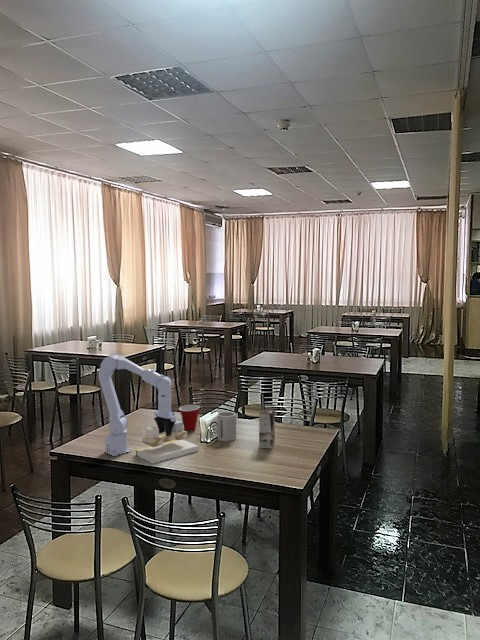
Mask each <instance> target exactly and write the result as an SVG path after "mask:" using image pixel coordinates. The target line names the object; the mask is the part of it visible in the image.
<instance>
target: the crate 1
mask: <svg viewBox="0 0 480 640" xmlns="http://www.w3.org/2000/svg"><path fill="white" fill-rule="evenodd" d="M145 435H146V437H148V438H150V439H153V438H157V437H159V428H158V426H157V427H156V426H155V425H153V426H149V427H146V428H145Z"/></svg>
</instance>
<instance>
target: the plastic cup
mask: <svg viewBox="0 0 480 640" xmlns="http://www.w3.org/2000/svg"><path fill="white" fill-rule="evenodd" d="M178 410H179V412H180V415H181V420H182V421H181V422H183V430H184V429H185V430H194V431H195V430H196V429H197V428H196V427H197V423H198V417H199V410H200V405H199V404H186V405H183V406H180V407H178ZM185 430H184V431H185Z"/></svg>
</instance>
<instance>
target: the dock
mask: <svg viewBox="0 0 480 640" xmlns="http://www.w3.org/2000/svg"><path fill="white" fill-rule="evenodd" d="M196 451H197V452H199V445H197V444H195V443H192V442H190V441H187V440H185V439H182V440H172V441H168V442H165V443H163V445H160V446H157V447H151V446H149V445H148V446H145V447H142V448H138V449H135V456H136V455H137V456H136V457H138V456H139V457H138V458H140V457H141V458H140V459H142V458H143V460H144V459H145V460H144V461H146V460H147V461H146V462H148V461H149V463H150V464H152V463H154V464H157V463H160V461H161V462H164V461H167V459H168V460H171V458H172V459H174V458H178V457H181V456H186V455H189V453H190V454H192V453H197V452H196Z"/></svg>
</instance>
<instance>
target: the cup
mask: <svg viewBox="0 0 480 640" xmlns="http://www.w3.org/2000/svg"><path fill="white" fill-rule="evenodd" d="M216 415H217V416H216V420H217V421H216V422H217V428H216V429H217V434H216V435H217V440H218V441H222V442H232V441H235V440H236V439H237V413H236V412H233V411H221V412H218V413H217V414H216Z"/></svg>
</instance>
